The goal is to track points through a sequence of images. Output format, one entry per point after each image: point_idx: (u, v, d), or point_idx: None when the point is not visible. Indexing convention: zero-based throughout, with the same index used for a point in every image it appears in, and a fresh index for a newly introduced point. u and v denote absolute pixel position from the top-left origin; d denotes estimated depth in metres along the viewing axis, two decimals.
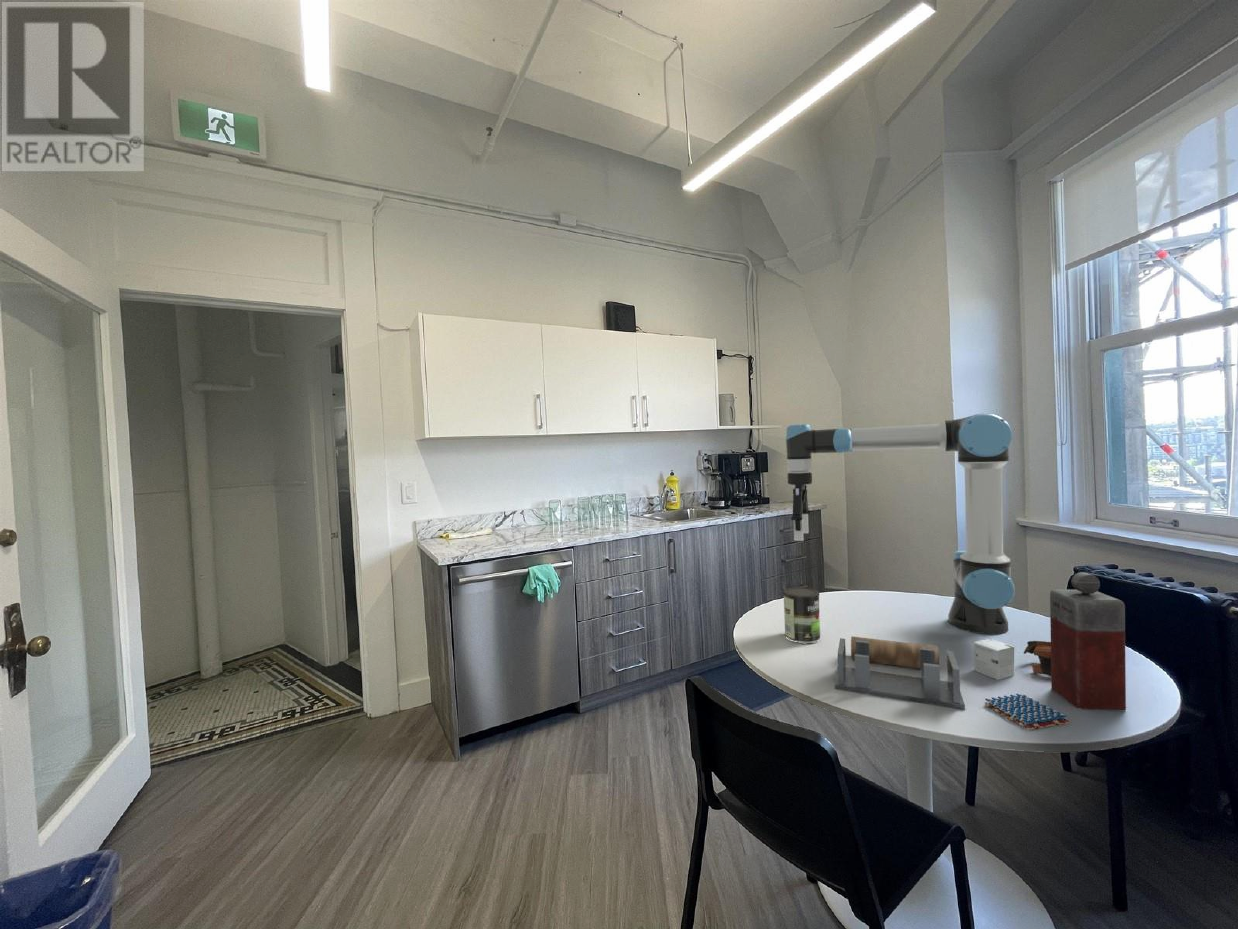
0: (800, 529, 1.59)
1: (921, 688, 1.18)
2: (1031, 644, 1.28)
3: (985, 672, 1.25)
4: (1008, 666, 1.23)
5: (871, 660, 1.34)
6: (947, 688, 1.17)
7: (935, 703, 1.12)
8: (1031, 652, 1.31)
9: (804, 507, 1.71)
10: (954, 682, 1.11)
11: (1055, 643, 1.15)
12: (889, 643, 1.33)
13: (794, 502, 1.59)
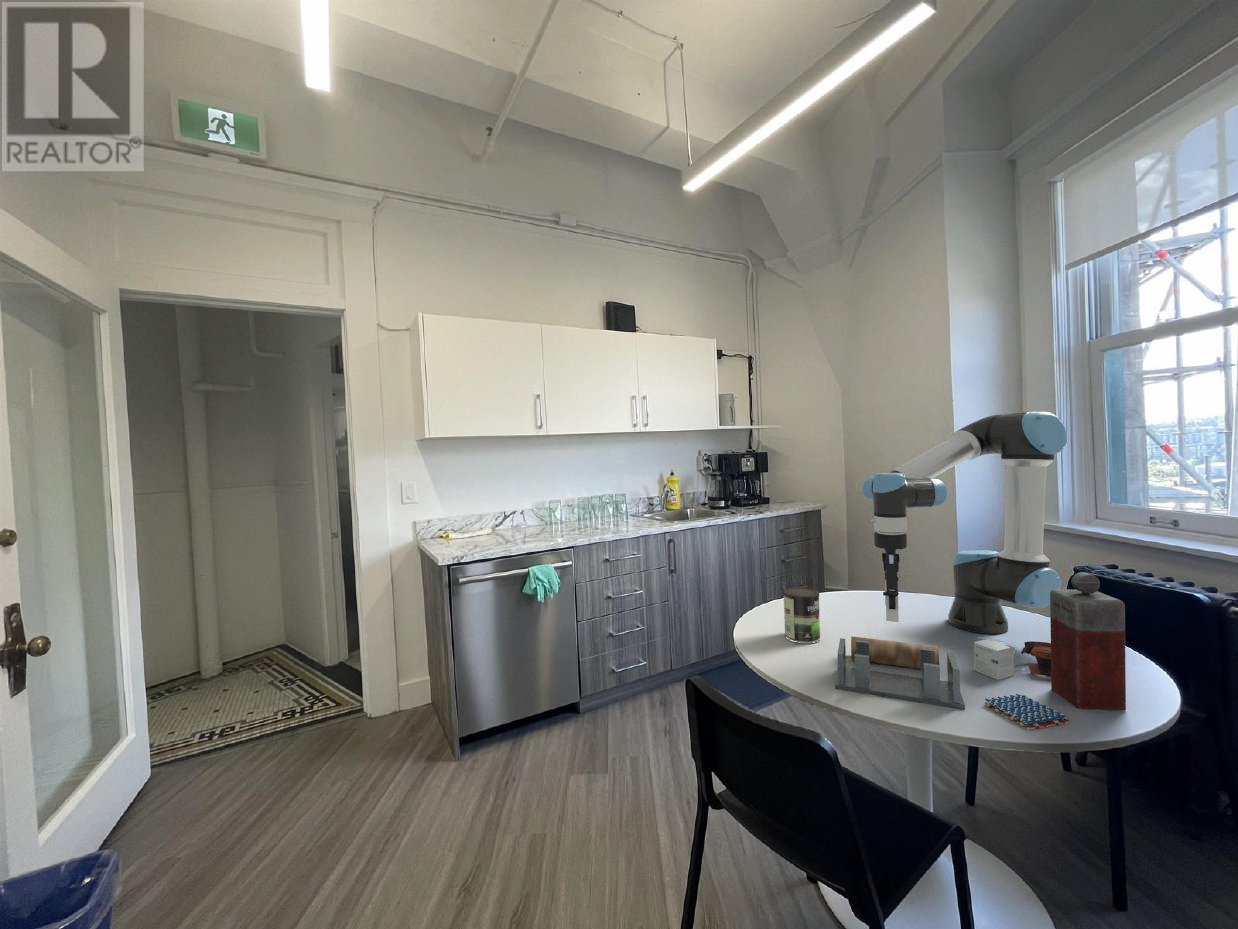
0: (895, 607, 1.26)
1: (921, 688, 1.18)
2: (1028, 644, 1.28)
3: (985, 672, 1.25)
4: (1008, 666, 1.23)
5: (871, 660, 1.34)
6: (947, 688, 1.17)
7: (935, 703, 1.12)
8: (1028, 652, 1.31)
9: None
10: (954, 682, 1.11)
11: (1055, 643, 1.15)
12: (889, 643, 1.33)
13: (888, 573, 1.26)
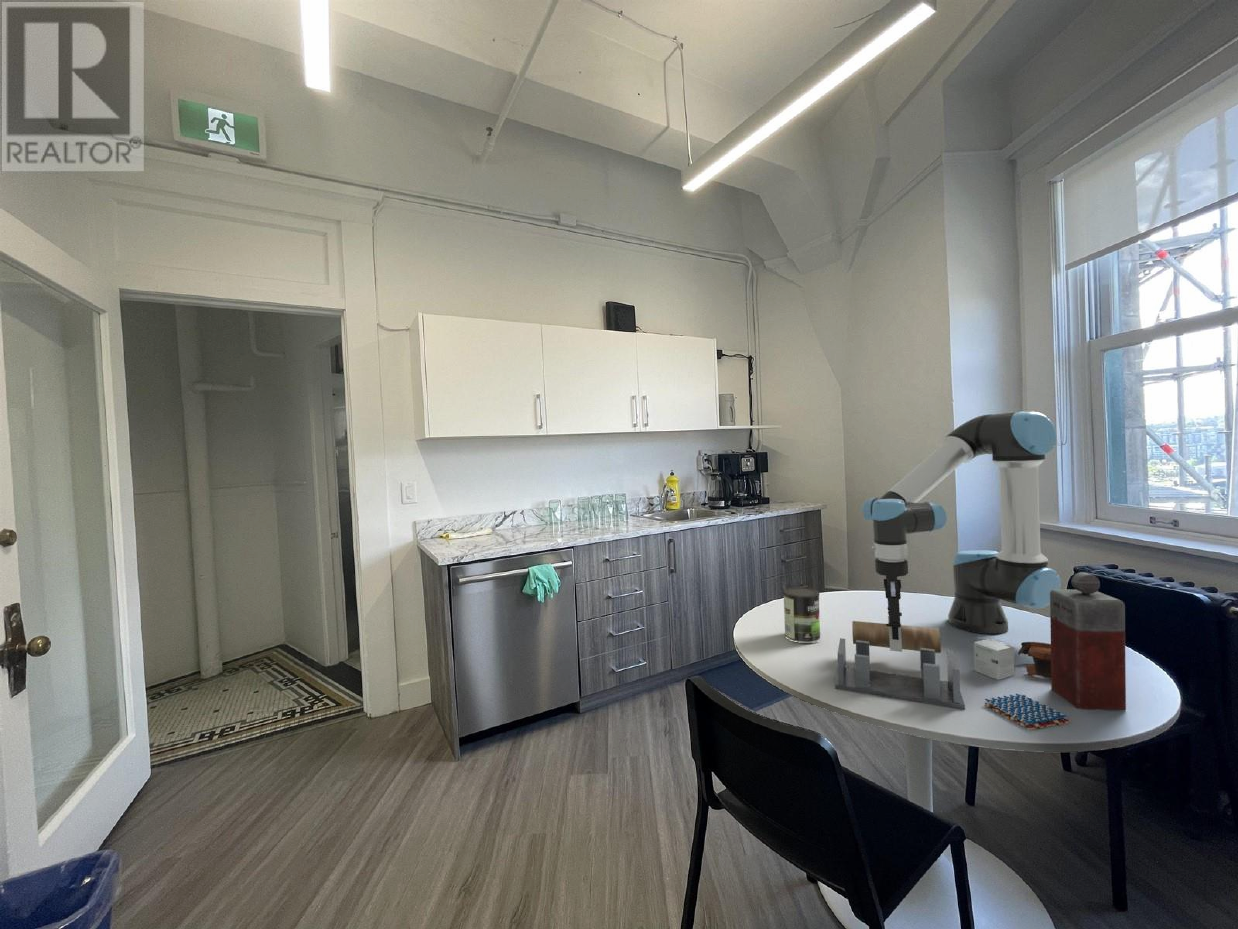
0: (898, 638, 1.30)
1: (921, 688, 1.18)
2: (1025, 645, 1.28)
3: (985, 672, 1.25)
4: (1008, 666, 1.23)
5: (873, 644, 1.34)
6: (947, 688, 1.17)
7: (935, 703, 1.12)
8: (1025, 653, 1.31)
9: None
10: (954, 682, 1.11)
11: (1055, 643, 1.15)
12: None
13: (890, 606, 1.28)
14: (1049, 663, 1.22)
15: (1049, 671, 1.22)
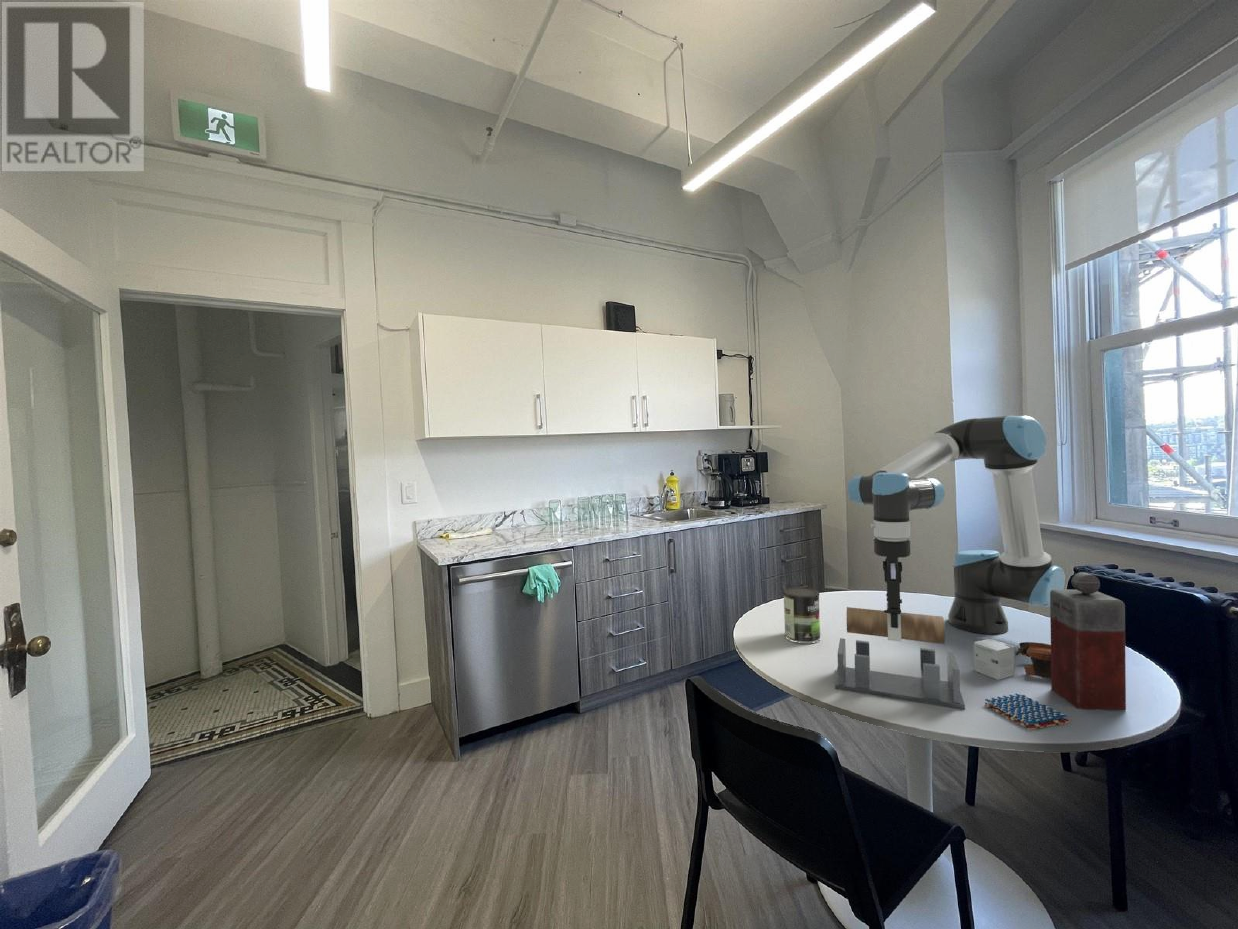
0: (897, 626, 1.16)
1: (921, 688, 1.18)
2: (1023, 645, 1.28)
3: (985, 672, 1.25)
4: (1008, 666, 1.23)
5: (869, 633, 1.21)
6: (947, 688, 1.17)
7: (935, 703, 1.12)
8: (1023, 653, 1.30)
9: None
10: (954, 682, 1.11)
11: (1055, 643, 1.15)
12: None
13: (889, 590, 1.15)
14: (1048, 664, 1.22)
15: (1047, 671, 1.22)
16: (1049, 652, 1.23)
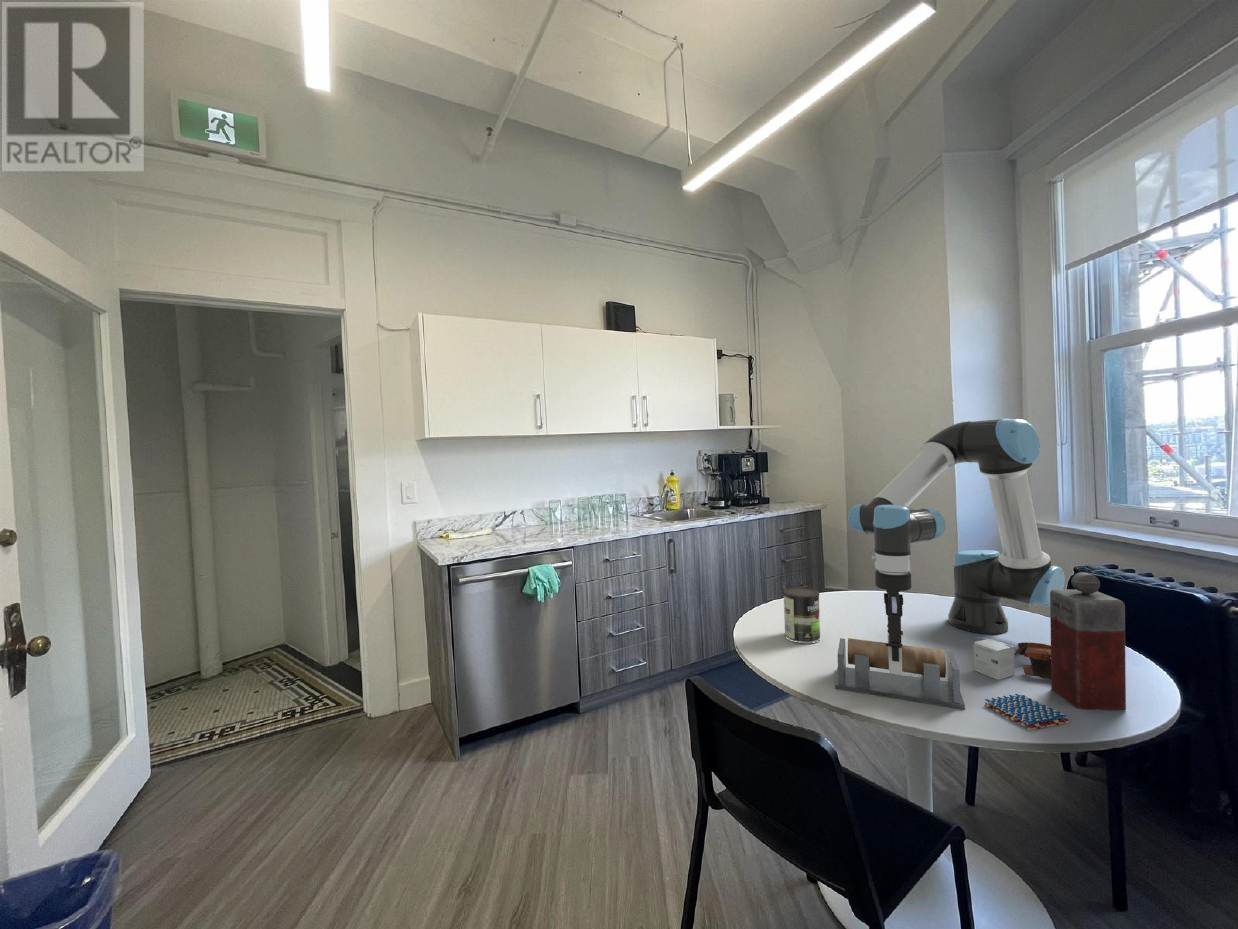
0: (899, 659, 1.16)
1: (921, 688, 1.18)
2: (1022, 646, 1.28)
3: (985, 672, 1.25)
4: (1008, 666, 1.23)
5: (870, 665, 1.21)
6: (947, 688, 1.17)
7: (935, 703, 1.12)
8: (1021, 653, 1.30)
9: None
10: (954, 682, 1.11)
11: (1055, 643, 1.15)
12: None
13: (890, 624, 1.15)
14: (1046, 664, 1.22)
15: (1046, 672, 1.22)
16: (1048, 652, 1.23)
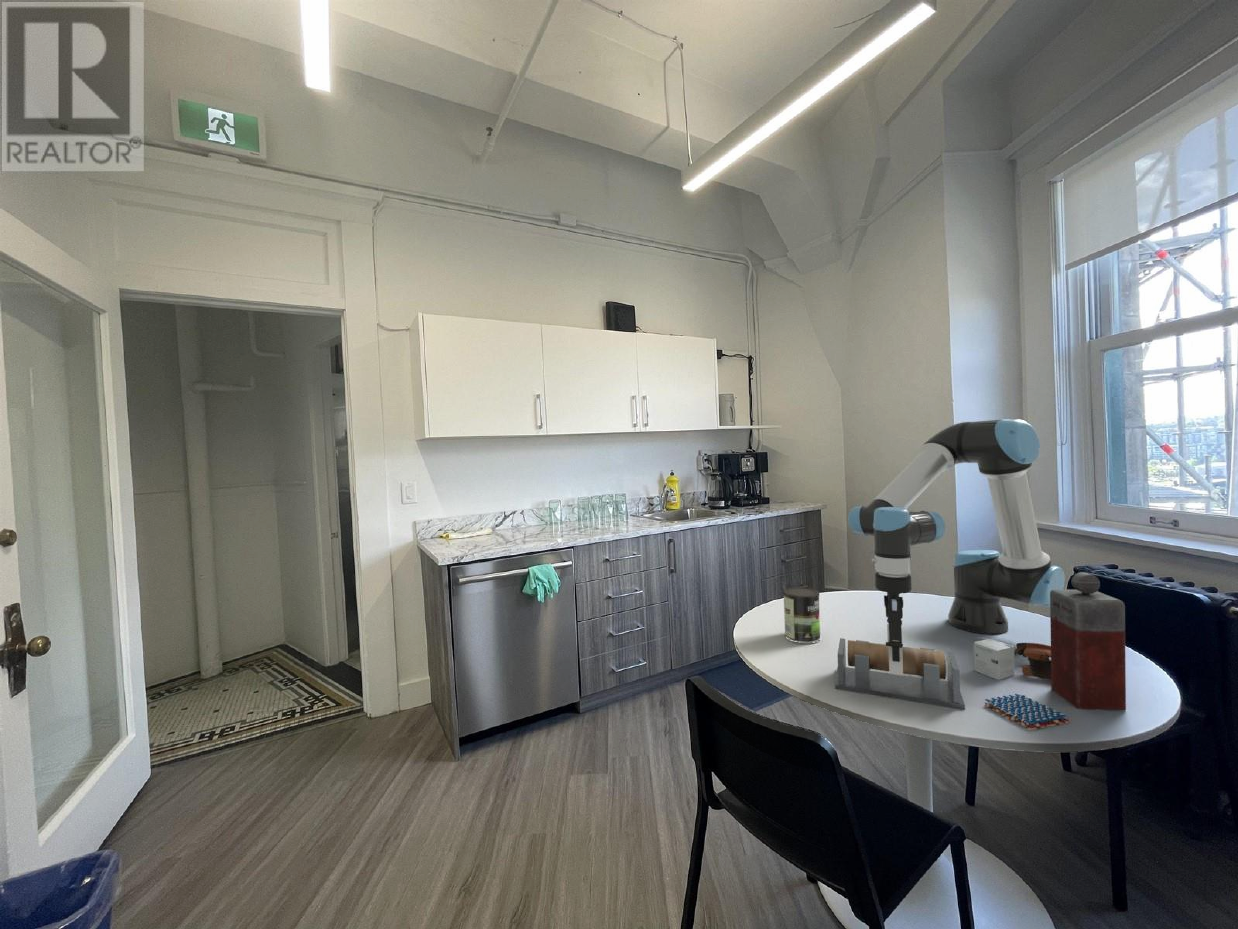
0: (899, 660, 1.13)
1: (921, 688, 1.18)
2: (1020, 646, 1.28)
3: (985, 672, 1.25)
4: (1008, 666, 1.23)
5: (870, 667, 1.21)
6: (947, 688, 1.17)
7: (935, 703, 1.12)
8: (1020, 654, 1.30)
9: None
10: (954, 682, 1.11)
11: (1055, 643, 1.15)
12: None
13: (891, 621, 1.13)
14: (1045, 664, 1.22)
15: (1044, 672, 1.22)
16: (1046, 652, 1.23)
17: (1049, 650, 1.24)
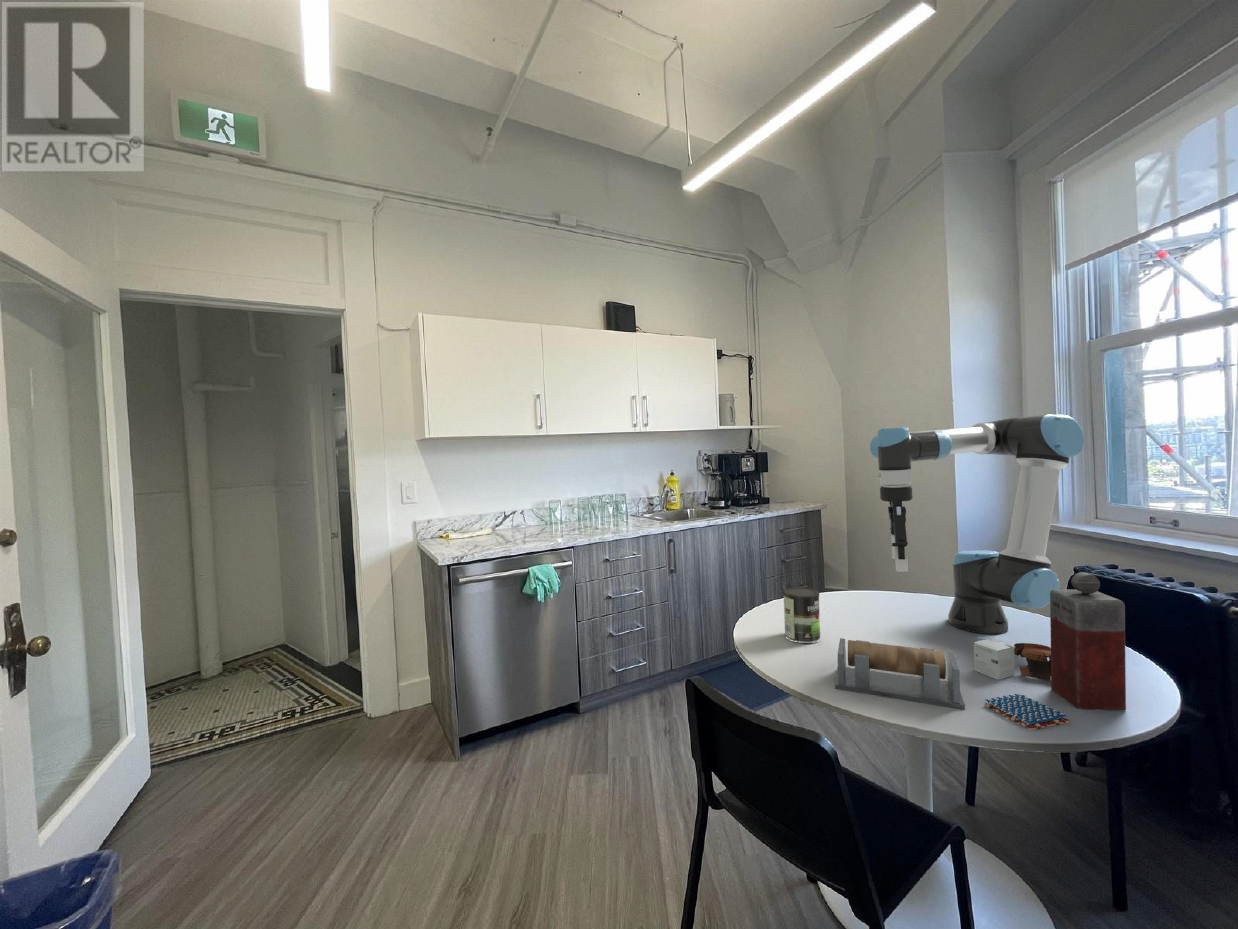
0: (904, 557, 1.28)
1: (921, 688, 1.18)
2: (1018, 646, 1.27)
3: (985, 672, 1.25)
4: (1008, 666, 1.23)
5: (870, 666, 1.21)
6: (947, 688, 1.17)
7: (935, 703, 1.12)
8: (1018, 654, 1.30)
9: None
10: (954, 682, 1.11)
11: (1055, 643, 1.15)
12: (890, 647, 1.20)
13: (896, 524, 1.28)
14: (1043, 665, 1.22)
15: (1042, 672, 1.21)
16: (1044, 653, 1.23)
17: (1047, 650, 1.24)
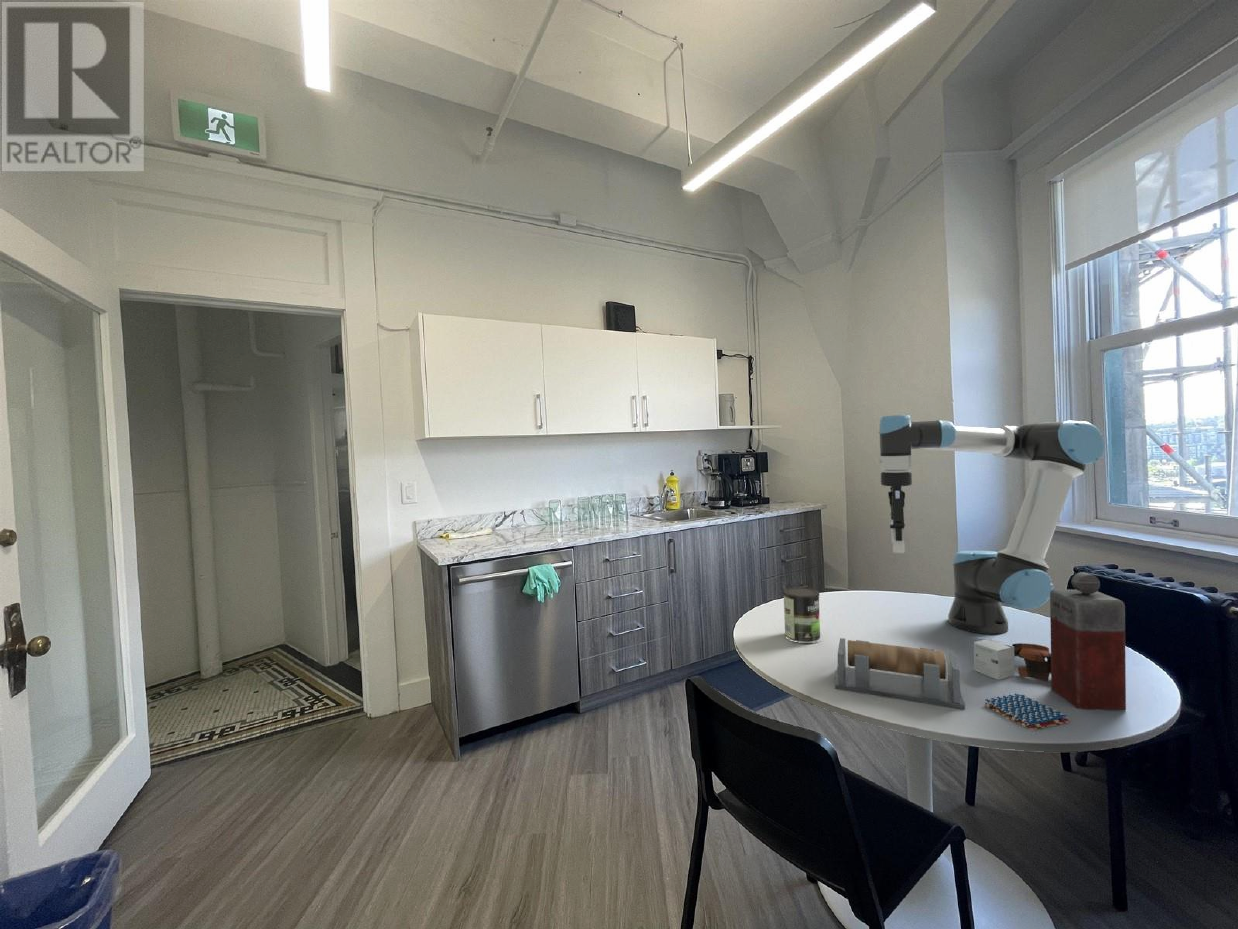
0: (901, 539, 1.34)
1: (921, 688, 1.18)
2: (1016, 647, 1.27)
3: (985, 672, 1.25)
4: (1008, 666, 1.23)
5: (870, 667, 1.21)
6: (947, 688, 1.17)
7: (935, 703, 1.12)
8: (1016, 654, 1.30)
9: None
10: (954, 682, 1.11)
11: (1055, 643, 1.15)
12: (890, 648, 1.20)
13: (894, 507, 1.34)
14: (1041, 665, 1.22)
15: (1040, 673, 1.21)
16: (1042, 653, 1.23)
17: (1045, 651, 1.24)
